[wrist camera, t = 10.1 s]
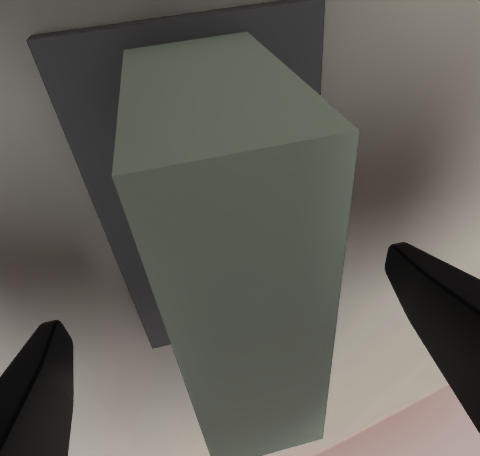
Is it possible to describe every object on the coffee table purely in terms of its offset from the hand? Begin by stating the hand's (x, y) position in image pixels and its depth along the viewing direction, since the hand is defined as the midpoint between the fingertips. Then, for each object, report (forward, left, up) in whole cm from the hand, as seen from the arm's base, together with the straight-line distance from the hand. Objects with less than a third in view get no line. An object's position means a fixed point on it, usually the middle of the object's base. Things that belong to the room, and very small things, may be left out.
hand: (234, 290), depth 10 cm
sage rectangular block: (0, -1, -3) cm, 3 cm away
